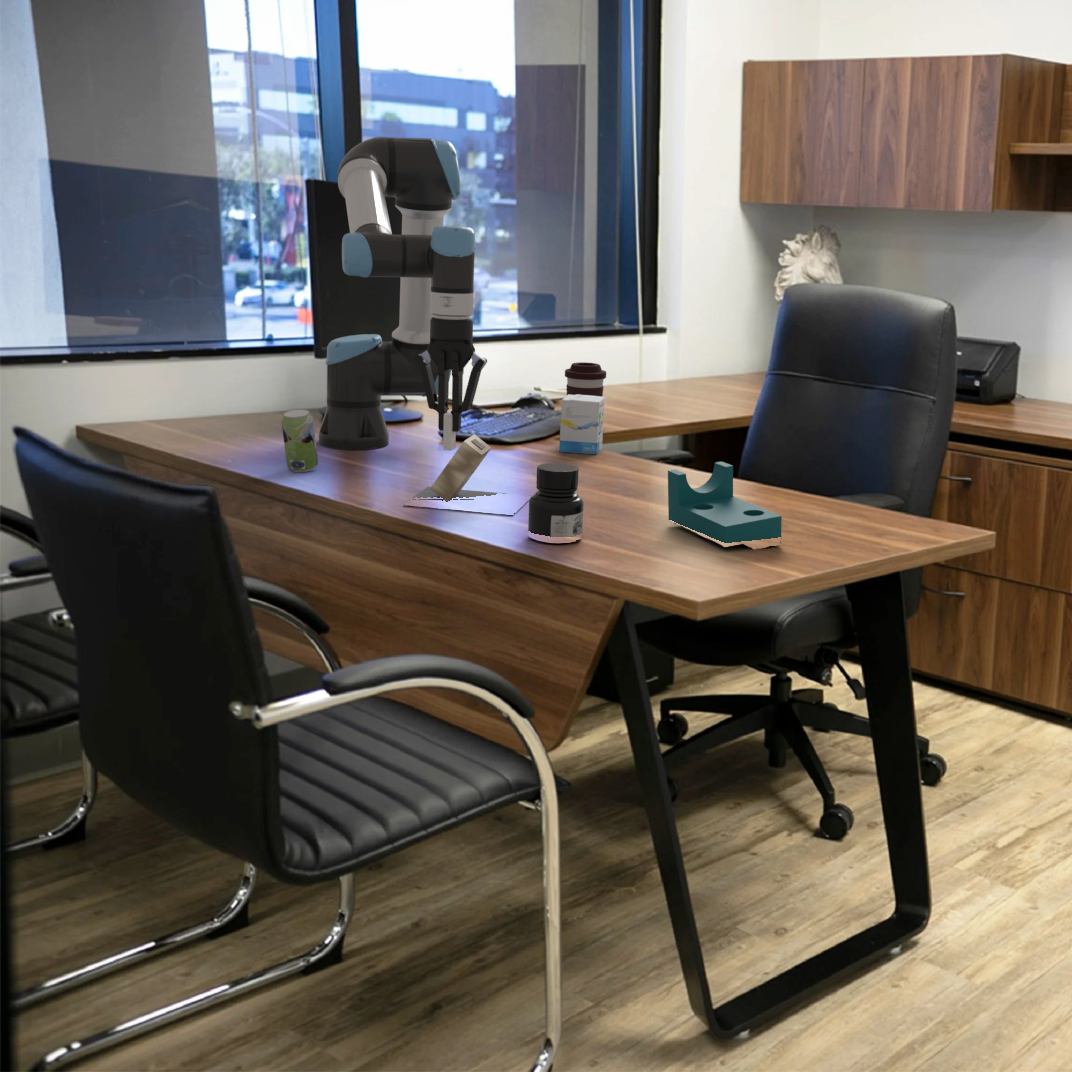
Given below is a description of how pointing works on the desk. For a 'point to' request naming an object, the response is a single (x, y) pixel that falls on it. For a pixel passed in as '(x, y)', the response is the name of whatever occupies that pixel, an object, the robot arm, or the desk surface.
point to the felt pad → (463, 493)
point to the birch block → (460, 468)
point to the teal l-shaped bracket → (719, 508)
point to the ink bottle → (556, 502)
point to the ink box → (581, 424)
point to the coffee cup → (585, 379)
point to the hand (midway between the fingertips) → (449, 448)
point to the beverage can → (299, 440)
